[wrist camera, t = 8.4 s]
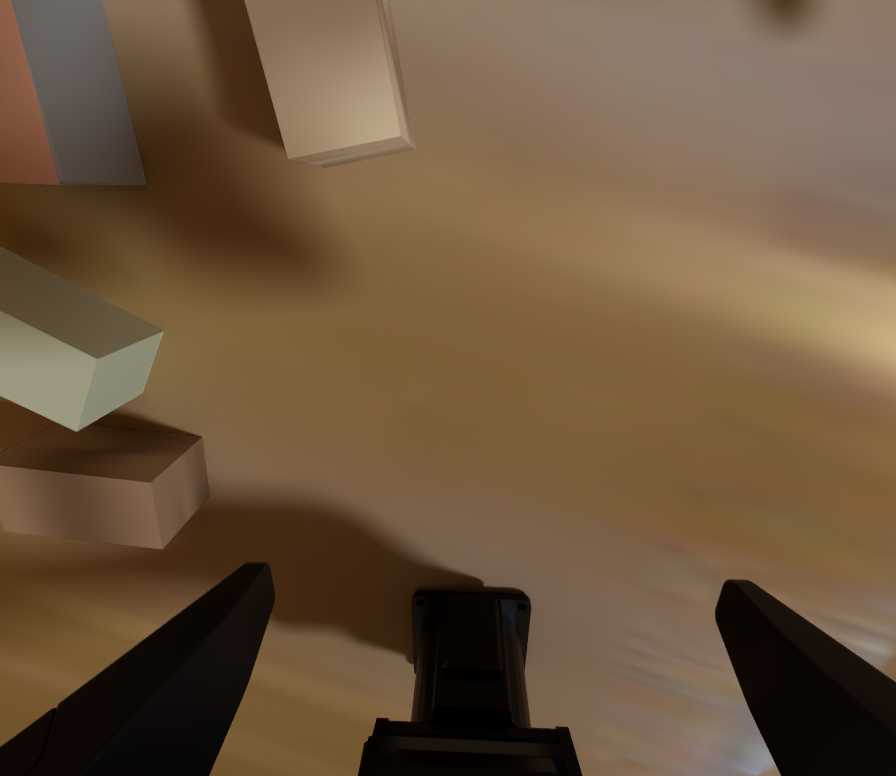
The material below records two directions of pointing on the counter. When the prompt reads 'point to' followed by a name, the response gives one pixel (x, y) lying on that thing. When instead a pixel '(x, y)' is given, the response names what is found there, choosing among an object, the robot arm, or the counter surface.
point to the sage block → (67, 346)
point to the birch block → (333, 78)
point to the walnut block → (103, 484)
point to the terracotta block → (20, 112)
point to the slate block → (79, 92)
